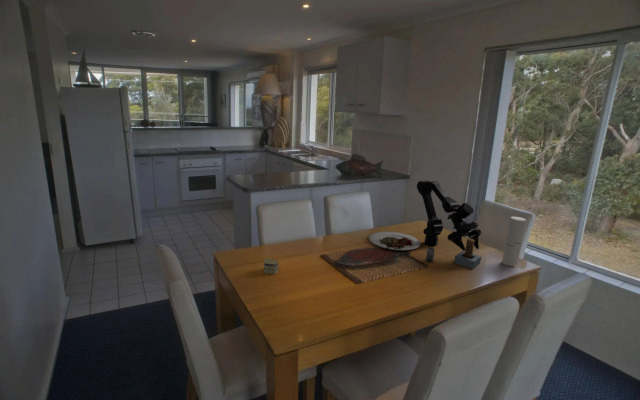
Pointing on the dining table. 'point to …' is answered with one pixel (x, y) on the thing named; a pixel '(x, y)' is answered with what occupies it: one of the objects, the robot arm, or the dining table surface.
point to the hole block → (467, 260)
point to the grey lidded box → (271, 266)
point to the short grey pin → (430, 254)
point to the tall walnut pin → (469, 248)
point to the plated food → (394, 240)
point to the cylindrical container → (513, 241)
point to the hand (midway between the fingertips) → (471, 249)
